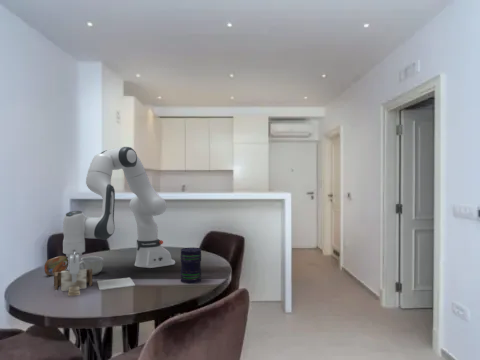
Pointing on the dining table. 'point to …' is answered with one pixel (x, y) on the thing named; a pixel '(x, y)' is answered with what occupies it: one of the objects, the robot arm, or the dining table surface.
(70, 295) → the offcut low
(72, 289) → the offcut top
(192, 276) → the storage jar
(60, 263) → the tin
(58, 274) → the frame
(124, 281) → the mat
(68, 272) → the cream rectangular block
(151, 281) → the dining table surface
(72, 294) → the offcut mid
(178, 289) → the dining table surface
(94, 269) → the teacup
